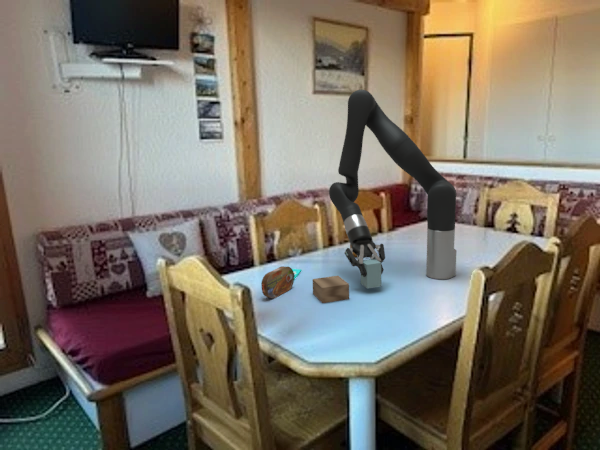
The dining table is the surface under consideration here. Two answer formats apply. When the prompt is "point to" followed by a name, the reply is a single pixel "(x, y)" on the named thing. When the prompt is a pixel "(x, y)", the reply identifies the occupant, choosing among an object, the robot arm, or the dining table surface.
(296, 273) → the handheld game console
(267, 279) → the tin
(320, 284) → the walnut plinth
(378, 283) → the teal block
